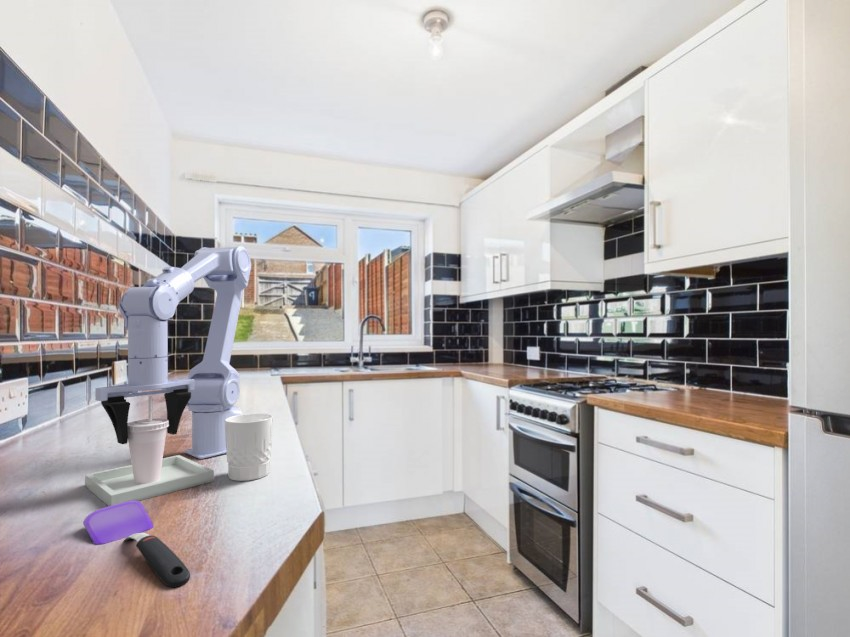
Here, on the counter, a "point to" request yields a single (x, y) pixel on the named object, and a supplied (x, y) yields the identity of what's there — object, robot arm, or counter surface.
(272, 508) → the counter surface
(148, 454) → the smoothie
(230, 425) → the white cup
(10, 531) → the counter surface
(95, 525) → the spatula
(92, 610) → the counter surface
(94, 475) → the tray
